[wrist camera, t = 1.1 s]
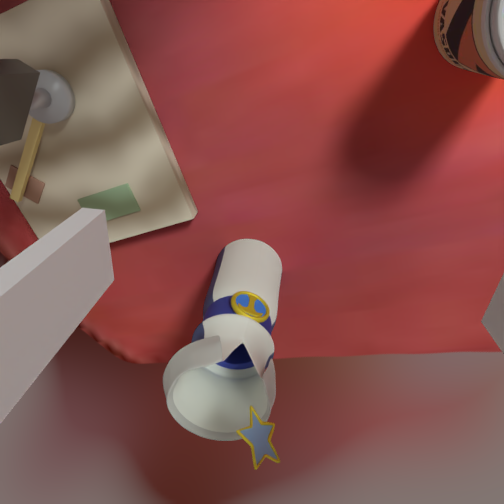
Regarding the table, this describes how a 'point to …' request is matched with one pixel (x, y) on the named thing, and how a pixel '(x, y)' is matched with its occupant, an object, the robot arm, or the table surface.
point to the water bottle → (231, 353)
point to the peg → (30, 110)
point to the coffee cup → (471, 35)
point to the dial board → (92, 125)
